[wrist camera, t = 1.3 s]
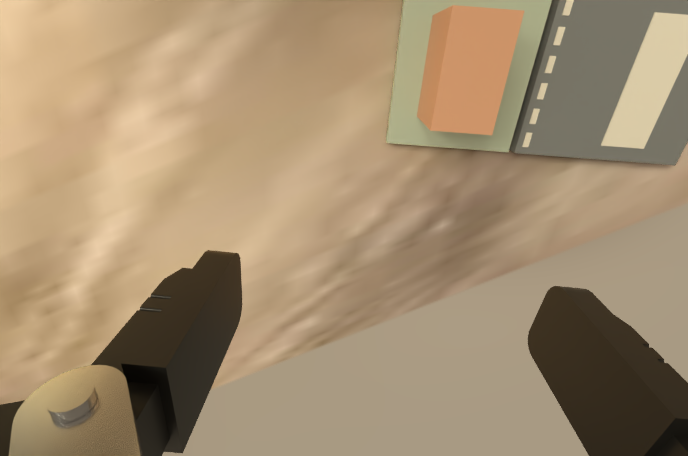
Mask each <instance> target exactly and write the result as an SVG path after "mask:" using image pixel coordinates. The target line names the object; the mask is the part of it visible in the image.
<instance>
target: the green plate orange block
mask: <svg viewBox="0 0 688 456" xmlns="http://www.w3.org/2000/svg"><path fill="white" fill-rule="evenodd" d="M551 2H552V0H403V4H402V12H401V20H400V28H399V37H398V45H397V53H396V61H395V69H394V78H393V86H392V94H391V102H390V110H389V118H388V127H387V135H386V143H392V144H405V145H419V146H432V147H445V148H458V149H471V150H484V151H497V152H509V148H510V145H511V141H512V138H513V134H514V131H515V128H516V124H517V121H518V117H519V114H520V110H521V107H522V103H523V100H524V96H525V93H526V89H527V86H528V82H529V79H530V75H531V72H532V68H533V65H534V61H535V58H536V54H537V51H538V47H539V44H540V40H541V37H542V33H543V30H544V26H545V23H546V19H547V16H548V12H549V9H550V5H551Z"/></svg>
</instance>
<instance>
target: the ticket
mask: <svg viewBox="0 0 688 456" xmlns="http://www.w3.org/2000/svg"><path fill="white" fill-rule="evenodd" d="M687 142H688V0H552V2H551V5H550V9H549V12H548V16H547V19H546V23H545V26H544V30H543V33H542V37H541V40H540V44H539V47H538V51H537V54H536V58H535V61H534V65H533V68H532V72H531V75H530V79H529V82H528V86H527V89H526V93H525V96H524V100H523V103H522V107H521V110H520V114H519V117H518V121H517V124H516V128H515V131H514V134H513V138H512V141H511V145H510V148H509V150H510V151H512V152H513V153H519V154H533V155H546V156H559V157H572V158H585V159H598V160H611V161H625V162H638V163H651V164H664V165H676V163H677V161H678V159H679V157H680V155H681V153H682V152H683V150H684V148H685V146H686V144H687Z"/></svg>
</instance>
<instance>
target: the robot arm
mask: <svg viewBox="0 0 688 456" xmlns="http://www.w3.org/2000/svg"><path fill="white" fill-rule="evenodd" d="M241 311H242V286H241V264H240V257H239V254H238V253H230V252H220V251H210V250H208V251H206V252H205V253H204V254H203V256H202V257H201V258H200V259H199V261H198V262H197V263H196V265H195V266H194V267H193V269H189V268H182V269H180V270H178V271H177V272H175V273H173V274H172V275H170V276H169V277H167V278H165V279H164V280H163V281H162V282H161V283H160V284H159V286H158V287H157V288H156V289H155V290H154V291H153V293H152V294H151V297H148V299H147V300H146V301H145V302H144V303H143V304H142V306H141V307H140V310H139V311H137V312H136V313H135V314H134V315H133V316H132V317H131V319H130V320H129V321H128V322H127V323H126V324H125V326H124V327H123V328H122V329H121V330H120V332H119V333H118V334H117V335H116V336H115V337H114V339H113V340H112V341H111V342H110V343H109V345H108V346H107V347H106V348H105V349H104V350H103V352H102V353H101V354H100V355H99V356H98V358H97V359H96V360H95V361H94V362H93V363H92V364H91V365H89V366H84V367H80V368H76V369H73V370H70V371H67V372H65V373H63V374H61V375H58V376H56V377H54V378H53V379H51V380H49V381H48V382H46V383H45V384H43V385H42V386H40V387H39V388H38V389H36V390H35V391H34V392H33V393H32V394H31V395H30V396H29V397H28V398H27V399H26V400H24V401H19V402H14V403H8V404H2V405H0V456H162V454H163V452H175V453H183V451H184V449H185V447H186V444H187V442H188V440H189V437H190V435H191V433H192V430H193V428H194V426H195V424H196V421H197V419H198V417H199V414H200V412H201V410H202V407H203V405H204V403H205V400H206V398H207V396H208V393H209V391H210V389H211V387H212V384H213V382H214V380H215V377H216V375H217V373H218V370H219V368H220V366H221V364H222V361H223V359H224V357H225V354H226V352H227V350H228V347H229V345H230V343H231V340H232V338H233V336H234V334H235V331H236V329H237V327H238V324H239V321H240V316H241ZM528 346H529V350H530V353H531V356H532V358H533V359H534V361H535V363H536V364H537V366H538V368H539V370H540V371H541V373H542V375H543V377H544V378H545V380H546V382H547V383H548V385H549V387H550V389H551V390H552V392H553V394H554V396H555V397H556V399H557V401H558V403H559V404H560V406H561V408H562V410H563V411H564V413H565V415H566V416H567V418H568V420H569V422H570V423H571V425H572V427H573V429H574V430H575V432H576V434H577V436H578V437H579V439H580V441H581V442H582V444H583V446H584V448H585V449H586V451H587V453H588V455H589V456H688V383H687V382H686V381H685V380H684V379H683V378H682V377H681V376H680V375H679V374H678V373H677V372H676V371H675V370H674V369H673V368H672V367H671V366H670V365H669V364H668V363H664V359H663V358H662V357H661V356H660V355H659V354H658V353H657V352H656V351H655V350H654V349H653V348H649V344H648V343H647V342H646V341H645V340H644V339H643V338H642V337H641V336H640V335H639V334H638V333H637V332H636V331H635V330H634V329H633V328H632V327H631V326H629V325H628V324H627V323H625V322H623V321H622V320H621V319H619V318H618V317H616V316H615V315H613V314H612V313H611V312H610V311H609V310H608V309H607V308H606V307H605V306H604V305H603V304H602V303H601V301H600V300H598V298H596V296H595V295H594V294H593V293H592V292H590V291H589V290H587V289H580V288H570V287H560V286H554V287H552V288H550V290H548V292H547V294H546V296H545V298H544V300H543V302H542V304H541V306H540V309H539V311H538V313H537V315H536V317H535V320H534V322H533V324H532V326H531V329H530V331H529V335H528Z"/></svg>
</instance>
